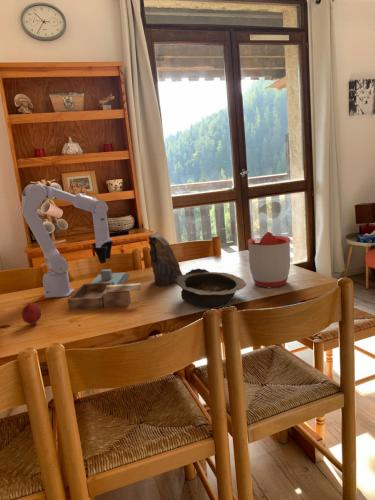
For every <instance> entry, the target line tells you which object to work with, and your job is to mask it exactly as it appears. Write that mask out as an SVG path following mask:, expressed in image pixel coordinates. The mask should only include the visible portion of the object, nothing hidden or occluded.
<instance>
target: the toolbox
mask: <svg viewBox="0 0 375 500" xmlns="http://www.w3.org/2000/svg"><path fill="white" fill-rule="evenodd" d="M107 285H114V282H105V283H91V282H90V283H83V284H82V285H81V286H80V287H79V288H78V289H77V290H76V291H74V293H73V294H71V296H70V297H69V298H67V304H68V310H69V311H84V310H85V311H87V310H101V309H104V308H120V307H121V308H123V307H129V306H130V304H131V302H132V300H131V299H132V298H131V291H122V292H106V286H107Z"/></svg>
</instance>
